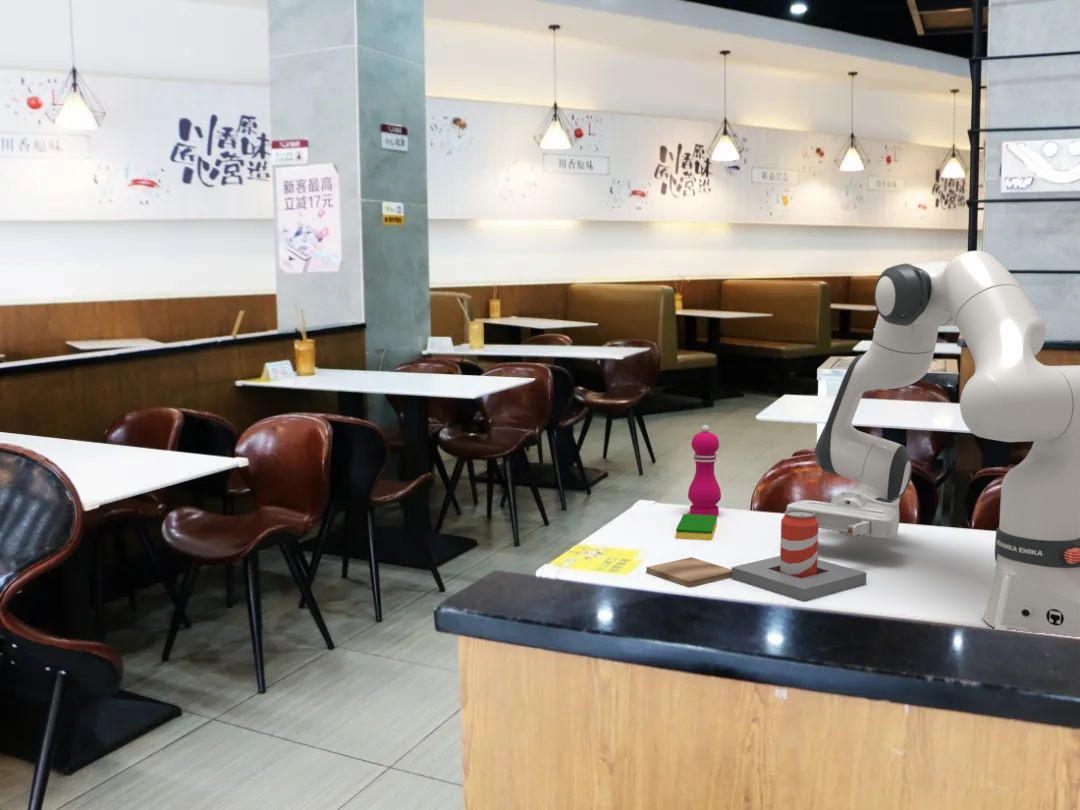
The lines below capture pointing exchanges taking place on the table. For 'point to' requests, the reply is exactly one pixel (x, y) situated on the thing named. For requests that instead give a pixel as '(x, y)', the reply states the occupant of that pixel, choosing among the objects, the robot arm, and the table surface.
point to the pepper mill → (704, 475)
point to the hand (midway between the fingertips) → (825, 526)
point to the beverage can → (799, 543)
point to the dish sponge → (696, 527)
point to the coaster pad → (690, 572)
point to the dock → (799, 588)
